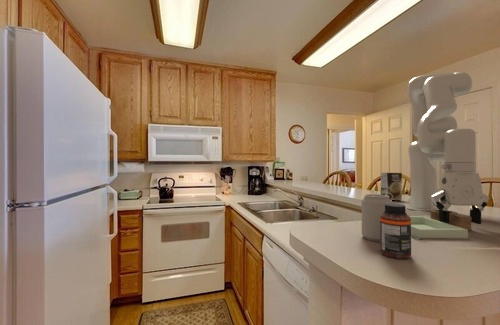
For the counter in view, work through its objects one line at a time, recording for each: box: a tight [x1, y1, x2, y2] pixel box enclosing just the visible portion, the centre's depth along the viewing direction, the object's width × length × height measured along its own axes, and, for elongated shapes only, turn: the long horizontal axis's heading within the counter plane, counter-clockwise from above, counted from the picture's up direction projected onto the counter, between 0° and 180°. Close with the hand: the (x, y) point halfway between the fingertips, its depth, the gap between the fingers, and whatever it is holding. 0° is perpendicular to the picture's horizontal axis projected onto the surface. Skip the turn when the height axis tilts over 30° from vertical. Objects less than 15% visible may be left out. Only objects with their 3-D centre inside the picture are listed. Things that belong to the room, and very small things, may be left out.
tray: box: [409, 215, 469, 241], centre depth 73 cm, size 17×13×3 cm
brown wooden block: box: [430, 210, 472, 231], centre depth 79 cm, size 12×7×4 cm, turn 179°
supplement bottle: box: [379, 202, 412, 260], centre depth 54 cm, size 6×6×11 cm
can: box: [361, 193, 393, 243], centre depth 66 cm, size 8×8×12 cm
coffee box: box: [380, 172, 403, 201], centre depth 138 cm, size 9×6×16 cm
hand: (459, 223), depth 75 cm, fingers open, 9 cm apart
